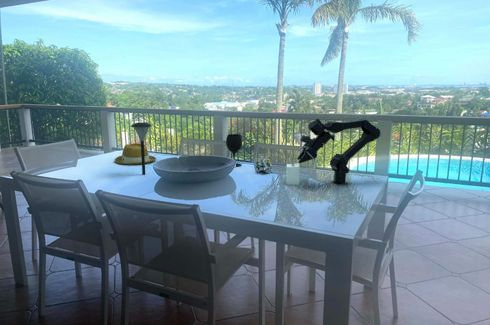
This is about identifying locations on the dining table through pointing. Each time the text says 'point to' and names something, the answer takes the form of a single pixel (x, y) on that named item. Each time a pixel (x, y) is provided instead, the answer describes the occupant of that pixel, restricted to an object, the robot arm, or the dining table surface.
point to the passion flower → (264, 165)
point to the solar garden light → (142, 139)
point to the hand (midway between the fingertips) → (298, 161)
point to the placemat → (301, 183)
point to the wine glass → (234, 144)
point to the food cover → (292, 174)
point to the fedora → (134, 155)
